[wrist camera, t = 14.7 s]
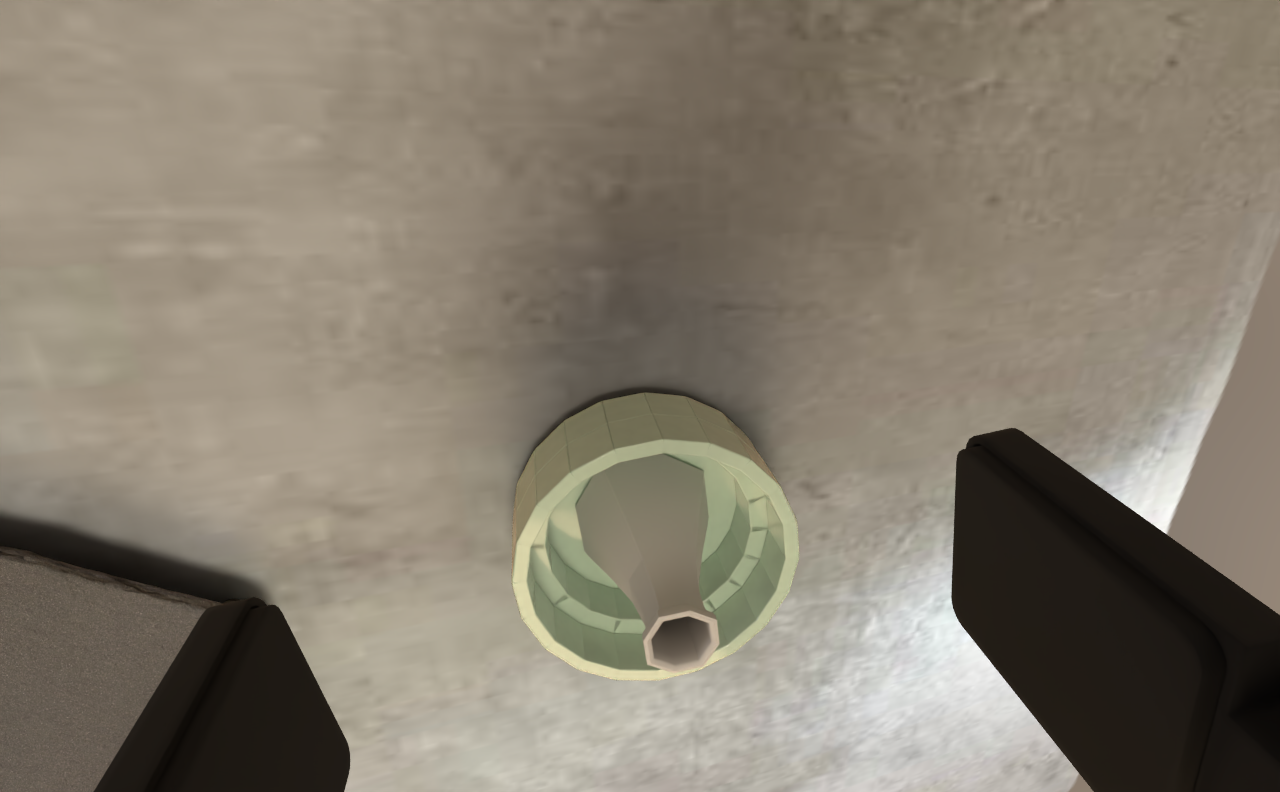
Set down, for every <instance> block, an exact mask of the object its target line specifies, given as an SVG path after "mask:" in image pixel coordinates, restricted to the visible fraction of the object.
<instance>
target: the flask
mask: <svg viewBox="0 0 1280 792" xmlns="http://www.w3.org/2000/svg"><path fill="white" fill-rule="evenodd" d="M575 507H576V512H577V517H578V522H579V527H580V532H581V537H582V541H583V546H584V551H585V553H586V554H587V555H588V556H589V557H590V558H591V559H592V560H593V561H594V562H595V563H596V564H597V565H598V566H599V567H600V568H601V569H602V570H603V571H604V572H605V573H606V574H607V575H608V576H609V577H610V578H611V579H612V580H613V581H614V582H615V583H616V584H617V586H618V587H619V588H620V589H621V590H622V591H623V592H624V593H625V595H626V596H627V597H628V598H629V599H630V600H631V601H632V602H633V604H634V606H635V608H636V610H637V612H638V614H639V615H640V617H641V619H642V621H643V623H644V625H645V630H644V631H643V633H642V639H643V645H644V651H645V656H646V662H647V665H650V666H653V667H656V668H659V669H662V670H665V671H669V672H672V673H677V672H681V671H686V670H690V669H695V668H699V667H704V666H705V664H706V663H707V661H708V660H709V658H710V657H711V656H712V654H713V653H714V651H715V650H716V648H717V647H718V645H719V644H720V643H719V634H718V626H717V619H716V616H715V615H714V613H712V612H710V611H707V610H706V609H705V607H704V604H703V601H702V598H701V595H700V592H699V577H700V569H701V561H702V553H703V547H704V542H705V537H706V531H707V526H708V518H709V515H708V506H707V497H706V488H705V479H704V471H702V470H700V469H697V468H695V467H693V466H690V465H688V464H686V463H683V462H681V461H679V460H676V459H674V458H672V457H669V456H667V455H665V454H657V455H652V456H648V457H643V458H638V459H633V460H628V461H623V462H619V463H617V464H615V465H613V466H611V467H609V468H607V469H605V470H603V471H601V472H599V473H597V474H595V475H593V477H592V479H591V480H590V482H589V484H588V486H587V487H586V489H585V491H584V493H583V494H582V496H581V498H580V499H579V501H578V503H577V505H576V506H575Z"/></svg>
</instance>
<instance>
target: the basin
mask: <svg viewBox="0 0 1280 792" xmlns="http://www.w3.org/2000/svg"><path fill="white" fill-rule="evenodd" d="M657 454H665V455H667V456H669V457H672V458H674V459H676V460H679V461H681V462H683V463H686V464H688V465H690V466H693V467H695V468H697V469H700V470H702V471H704V479H705V488H706V497H707V506H708V515H709V518H708V526H707V531H706V537H705V542H704V547H703V553H702V561H701V569H700V577H699V592H700V595H701V598H702V601H703V604H704V607H705V609H706V610H707V611H710V612H712V613H714V615H715V616H716V619H717V626H718V634H719V643H720V644H719V645H718V647H717V648H716V650H715V651H714V653H713V654H712V656H711V657H710V658H709V660H708V661H707V663H706V664H705V666H704V667H699V668H695V669H690V670H686V671H681V672H677V673H672V672H669V671H665V670H662V669H659V668H656V667H653V666H650V665H647V662H646V656H645V651H644V645H643V639H642V633H643V631H644V630H645V625H644V623H643V621H642V619H641V617H640V615H639V614H638V612H637V610H636V608H635V606H634V604H633V602H632V601H631V600H630V599H629V598H628V597H627V596H626V595H625V593H624V592H623V591H622V590H621V589H620V588H619V587H618V586H617V584H616V583H615V582H614V581H613V580H612V579H611V578H610V577H609V576H608V575H607V574H606V573H605V572H604V571H603V570H602V569H601V568H600V567H599V566H598V565H597V564H596V563H595V562H594V561H593V560H592V559H591V558H590V557H589V556H588V555H587V554H586V553H585V551H584V546H583V541H582V537H581V532H580V527H579V522H578V517H577V512H576V507H575V506H576V505H577V503H578V501H579V499H580V498H581V496H582V494H583V493H584V491H585V489H586V487H587V486H588V484H589V482H590V480H591V479H592V477H593V475H595V474H597V473H599V472H601V471H603V470H605V469H607V468H609V467H611V466H613V465H615V464H617V463H619V462H623V461H628V460H633V459H638V458H643V457H648V456H652V455H657ZM798 560H799V543H798V528H797V520H796V517H795V515H794V513H793V511H792V509H791V507H790V505H789V502H788V500H787V498H786V496H785V494H784V492H783V490H782V488H781V486H780V485H779V483H778V482H777V480H776V479H775V477H774V476H773V474H772V473H771V471H770V470H769V468H768V467H767V465H766V464H765V462H764V461H763V459H762V458H761V456H760V455H759V453H758V452H757V450H756V449H755V447H754V445H753V444H752V442H751V441H750V439H749V438H748V437H747V435H746V434H745V433H743V432H742V431H741V430H740V429H739V428H738V427H737V426H736V425H735V424H734V423H733V422H732V421H731V420H730V419H728V418H727V417H726V416H725V415H724V414H723V413H722V412H720V411H718V410H716V409H714V408H712V407H709V406H707V405H705V404H702V403H700V402H698V401H695V400H693V399H691V398H688V397H685V396H678V395H667V394H657V393H647V392H644V393H639V394H634V395H629V396H624V397H619V398H614V399H609V400H604V401H600V402H598V403H596V404H594V405H593V406H591V407H589V408H587V409H585V410H583V411H581V412H579V413H577V414H575V415H574V416H572V417H570V418H568V419H566V420H564V422H562V423H561V424H560V425H559V426H558V427H557V428H556V429H555V430H554V431H553V432H552V433H551V434H550V435H549V436H548V437H547V438H546V439H545V440H544V441H543V442H542V443H541V444H540V445H539V446H538V447H537V448H536V449H535V451H533V453H532V455H531V457H530V459H529V461H528V463H527V465H526V467H525V469H524V471H523V473H522V475H521V477H520V479H519V481H518V483H517V486H516V494H515V503H514V512H513V527H512V587H513V590H514V594H515V597H516V601H517V605H518V608H519V612H520V615H521V618H522V620H523V621H524V622H525V624H526V625H527V626H528V628H529V629H530V630H531V632H532V633H533V634H534V635H535V637H536V638H537V639H538V641H539V642H540V643H541V644H542V646H543V647H544V648H545V649H546V650H547V651H549V652H550V653H552V654H554V655H555V656H557V657H558V658H560V659H561V660H563V661H565V662H566V663H568V664H569V665H571V666H572V667H574V668H576V669H578V670H580V671H584V672H588V673H591V674H595V675H599V676H602V677H606V678H609V679H613V680H662V679H666V678H670V677H675V676H679V675H683V674H687V673H692V672H696V671H698V670H701V669H703V668H705V667H707V666H709V665H711V664H713V663H715V662H717V661H719V660H721V659H723V658H725V657H727V656H729V655H731V654H733V653H734V652H735V651H737V650H738V649H739V648H741V647H742V646H743V645H744V644H745V643H746V642H748V641H749V640H750V639H751V638H752V637H753V636H755V635H756V634H757V633H758V632H759V631H760V630H762V629H763V628H764V627H765V626H766V625H767V624H768V622H769V621H770V619H771V618H772V616H773V615H774V613H775V612H776V611H777V609H778V608H779V606H780V605H781V603H782V602H783V600H784V599H785V597H786V596H787V594H788V593H789V590H790V587H791V583H792V580H793V577H794V573H795V570H796V566H797V563H798Z"/></svg>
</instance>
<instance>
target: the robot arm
mask: <svg viewBox="0 0 1280 792" xmlns="http://www.w3.org/2000/svg"><path fill="white" fill-rule="evenodd" d="M952 605H953V609H954V611H955V614H956V616H957V618H958V620H959V622H960V623H961V625H962V626H963V628H964V629H965V630H966V631H967V633H968V634H969V635H970V636H971V638H972V639H973V640H974V641H975V643H976V644H977V645H978V647H979V648H980V649H981V650H982V652H983V653H984V654H985V655H986V657H987V658H988V659H989V660H990V662H991V663H992V664H993V665H994V667H995V668H996V669H997V670H998V672H999V673H1000V674H1001V675H1002V677H1003V678H1004V679H1005V680H1006V682H1007V683H1008V684H1009V686H1010V687H1011V688H1012V689H1013V691H1014V692H1015V693H1016V694H1017V696H1018V697H1019V698H1020V699H1021V701H1022V702H1023V703H1024V704H1025V706H1026V707H1027V708H1028V709H1029V711H1030V712H1031V713H1032V714H1033V716H1034V717H1035V718H1036V719H1037V721H1038V722H1039V723H1040V725H1041V726H1042V727H1043V728H1044V730H1045V731H1046V732H1047V733H1048V735H1049V736H1050V737H1051V738H1052V740H1053V741H1054V742H1055V743H1056V745H1057V746H1058V747H1059V748H1060V750H1061V751H1062V752H1063V753H1064V755H1065V756H1066V757H1067V758H1068V760H1069V761H1070V762H1071V763H1072V765H1073V766H1074V767H1075V769H1076V770H1077V771H1078V772H1079V774H1080V775H1081V776H1082V777H1083V779H1084V780H1085V781H1086V782H1087V784H1088V785H1089V786H1090V787H1091V789H1092V790H1093V791H1094V792H1280V615H1279V614H1277V613H1276V612H1275V611H1273V610H1272V609H1270V608H1269V607H1268V606H1266V605H1265V604H1263V603H1262V602H1260V601H1259V600H1258V599H1256V598H1255V597H1253V596H1252V595H1251V594H1249V593H1248V592H1246V591H1245V590H1244V589H1242V588H1241V587H1239V586H1238V585H1237V584H1235V583H1234V582H1232V581H1231V580H1230V579H1228V578H1227V577H1225V576H1224V575H1223V574H1221V573H1220V572H1218V571H1217V570H1216V569H1214V568H1213V567H1211V566H1210V565H1208V564H1207V563H1206V562H1204V561H1203V560H1202V559H1200V558H1198V557H1197V556H1196V555H1194V554H1193V553H1192V552H1190V551H1189V550H1187V549H1186V548H1185V547H1183V546H1182V545H1180V544H1179V543H1177V542H1176V541H1175V540H1173V539H1172V538H1171V537H1169V536H1168V535H1166V534H1165V533H1164V532H1162V531H1161V530H1159V529H1158V528H1157V527H1155V526H1154V525H1152V524H1151V523H1150V522H1148V521H1147V520H1145V519H1144V518H1143V517H1141V516H1140V515H1138V514H1137V513H1136V512H1134V511H1133V510H1131V509H1130V508H1128V507H1127V506H1126V505H1124V504H1123V503H1121V502H1120V501H1119V500H1117V499H1116V498H1114V497H1113V496H1112V495H1110V494H1109V493H1107V492H1106V491H1105V490H1103V489H1102V488H1100V487H1099V486H1098V485H1096V484H1095V483H1093V482H1092V481H1091V480H1089V479H1088V478H1086V477H1085V476H1084V475H1082V474H1081V473H1079V472H1078V471H1077V470H1075V469H1074V468H1072V467H1071V466H1070V465H1068V464H1067V463H1065V462H1064V461H1062V460H1061V459H1060V458H1058V457H1057V456H1055V455H1054V454H1053V453H1051V452H1050V451H1048V450H1047V449H1046V448H1044V447H1043V446H1041V445H1040V444H1039V443H1037V442H1036V441H1034V440H1033V439H1032V438H1030V437H1029V436H1027V435H1026V434H1025V433H1023V432H1022V431H1020V430H1018V429H1016V428H1009V429H1004V430H1000V431H995V432H991V433H986V434H982V435H977V436H973V437H972V438H970V439H969V441H968V443H967V446H966V449H963V450H961V451H959V453H958V455H957V461H956V489H955V516H954V543H953V570H952ZM349 769H350V751H349V746H348V743H347V741H346V739H345V737H344V735H343V733H342V731H341V729H340V727H339V725H338V723H337V721H336V719H335V717H334V715H333V713H332V711H331V709H330V707H329V705H328V703H327V701H326V699H325V697H324V695H323V693H322V691H321V689H320V687H319V685H318V683H317V681H316V679H315V677H314V675H313V673H312V671H311V669H310V667H309V665H308V663H307V661H306V659H305V657H304V655H303V653H302V651H301V649H300V647H299V645H298V643H297V641H296V639H295V637H294V635H293V633H292V631H291V629H290V627H289V625H288V623H287V621H286V619H285V617H284V615H283V613H282V612H281V610H280V609H279V608H278V607H277V606H276V605H268V606H267V605H266V604H265V602H264V601H263V600H261V599H260V598H256V597H252V598H248V599H243V600H239V601H234V602H230V603H225V604H221V605H216V606H212V607H210V608H208V609H206V610H205V611H204V613H203V614H202V615H201V617H200V618H199V620H198V621H197V623H196V625H195V626H194V628H193V630H192V631H191V633H190V635H189V636H188V638H187V639H186V641H185V643H184V644H183V646H182V648H181V649H180V651H179V653H178V654H177V656H176V657H175V659H174V661H173V662H172V664H171V666H170V667H169V669H168V671H167V672H166V674H165V675H164V677H163V679H162V680H161V682H160V684H159V685H158V687H157V689H156V690H155V692H154V693H153V695H152V697H151V698H150V700H149V702H148V703H147V705H146V707H145V708H144V710H143V711H142V713H141V715H140V716H139V718H138V720H137V721H136V723H135V725H134V726H133V728H132V730H131V731H130V733H129V734H128V736H127V738H126V739H125V741H124V743H123V744H122V746H121V748H120V749H119V751H118V752H117V754H116V756H115V757H114V759H113V761H112V762H111V764H110V766H109V767H108V769H107V770H106V772H105V774H104V775H103V777H102V779H101V780H100V782H99V784H98V785H97V787H96V788H95V790H94V792H344V790H345V786H346V782H347V778H348V775H349Z"/></svg>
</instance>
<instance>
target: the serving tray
mask: <svg viewBox="0 0 1280 792" xmlns="http://www.w3.org/2000/svg"><path fill="white" fill-rule="evenodd" d="M234 601H239V599H230V600H227V601H225V602H223V603H219V602H215V601H211V600H207V599H203V598H200V597H196V596H193V595H188V594H184V593H179V592H175V591H170V590H166V589H163V588H159V587H156V586H152V585H148V584H144V583H140V582H136V581H132V580H129V579H125V578H120V577H116V576H112V575H109V574H106V573H103V572H99V571H94V570H89V569H85V568H82V567H78V566H74V565H71V564H68V563H65V562H61V561H58V560H54V559H51V558H47V557H44V556H42V555H39V554H36V553H34V552H31V551H26V550H21V549H16V548H10V547H4V546H0V792H94V790H95V788H96V787H97V785H98V784H99V782H100V780H101V779H102V777H103V775H104V774H105V772H106V770H107V769H108V767H109V766H110V764H111V762H112V761H113V759H114V757H115V756H116V754H117V752H118V751H119V749H120V748H121V746H122V744H123V743H124V741H125V739H126V738H127V736H128V734H129V733H130V731H131V730H132V728H133V726H134V725H135V723H136V721H137V720H138V718H139V716H140V715H141V713H142V711H143V710H144V708H145V707H146V705H147V703H148V702H149V700H150V698H151V697H152V695H153V693H154V692H155V690H156V689H157V687H158V685H159V684H160V682H161V680H162V679H163V677H164V675H165V674H166V672H167V671H168V669H169V667H170V666H171V664H172V662H173V661H174V659H175V657H176V656H177V654H178V653H179V651H180V649H181V648H182V646H183V644H184V643H185V641H186V639H187V638H188V636H189V635H190V633H191V631H192V630H193V628H194V626H195V625H196V623H197V621H198V620H199V618H200V617H201V615H202V614H203V613H204V611H205V610H206V609H208V608H210V607H212V606H216V605H221V604H225V603H230V602H234Z"/></svg>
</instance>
